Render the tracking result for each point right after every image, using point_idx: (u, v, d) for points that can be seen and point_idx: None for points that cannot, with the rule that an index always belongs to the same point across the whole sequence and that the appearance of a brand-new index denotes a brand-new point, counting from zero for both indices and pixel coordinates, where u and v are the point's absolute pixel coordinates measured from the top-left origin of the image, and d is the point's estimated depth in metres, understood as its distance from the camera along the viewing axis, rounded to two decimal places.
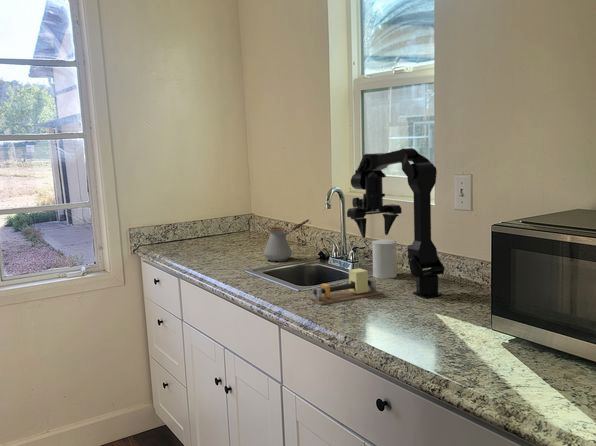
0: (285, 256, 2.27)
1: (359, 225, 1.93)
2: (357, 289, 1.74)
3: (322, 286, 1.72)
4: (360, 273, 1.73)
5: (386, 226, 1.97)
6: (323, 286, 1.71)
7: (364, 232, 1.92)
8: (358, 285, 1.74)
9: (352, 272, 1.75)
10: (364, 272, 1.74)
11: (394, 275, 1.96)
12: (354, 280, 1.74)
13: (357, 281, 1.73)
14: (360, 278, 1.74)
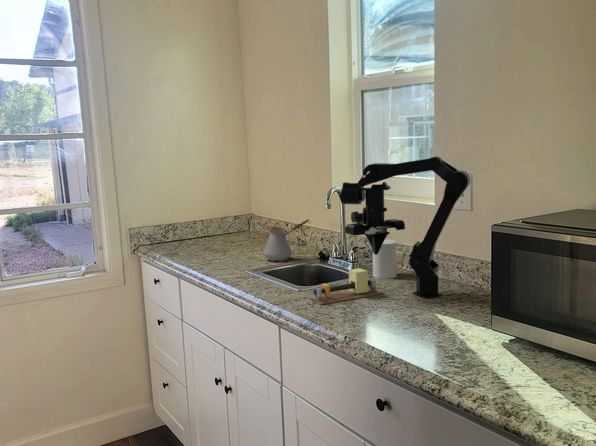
0: (285, 256, 2.27)
1: (370, 241, 1.77)
2: (357, 289, 1.74)
3: (322, 286, 1.72)
4: (360, 273, 1.73)
5: None
6: (323, 286, 1.71)
7: (376, 248, 1.76)
8: (358, 285, 1.74)
9: (352, 272, 1.75)
10: (364, 272, 1.74)
11: (394, 275, 1.96)
12: (354, 280, 1.74)
13: (357, 281, 1.73)
14: (360, 278, 1.74)
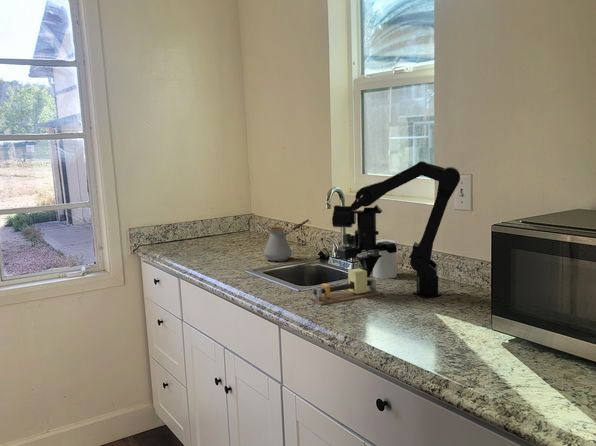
0: (285, 256, 2.27)
1: (362, 264, 1.77)
2: (356, 289, 1.73)
3: (322, 286, 1.72)
4: (359, 273, 1.73)
5: None
6: (323, 286, 1.71)
7: (368, 271, 1.76)
8: (357, 285, 1.74)
9: (351, 272, 1.75)
10: (363, 272, 1.74)
11: (394, 275, 1.96)
12: (353, 280, 1.74)
13: (356, 281, 1.73)
14: (359, 278, 1.74)
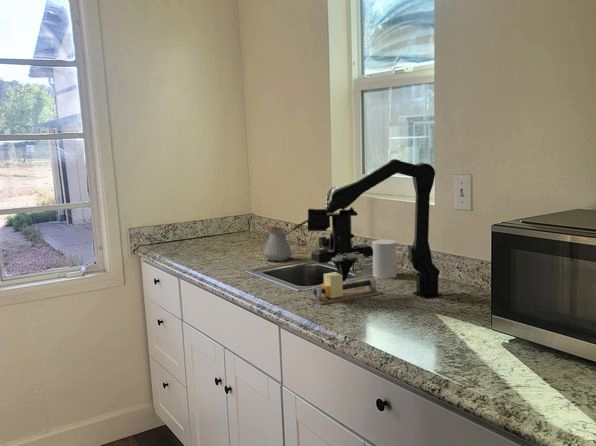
0: (285, 256, 2.27)
1: (338, 267, 1.73)
2: (331, 293, 1.70)
3: (322, 286, 1.72)
4: (334, 277, 1.70)
5: None
6: (323, 286, 1.71)
7: (343, 275, 1.72)
8: (332, 289, 1.70)
9: (327, 276, 1.71)
10: (339, 276, 1.70)
11: (394, 275, 1.96)
12: (328, 284, 1.70)
13: (331, 285, 1.69)
14: (335, 282, 1.70)
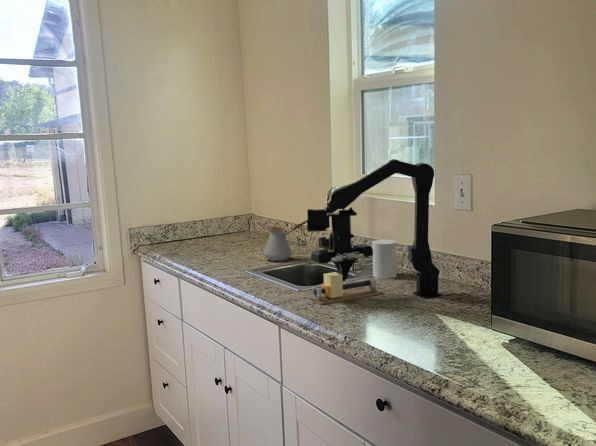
0: (285, 256, 2.27)
1: (338, 267, 1.73)
2: (331, 293, 1.70)
3: (322, 286, 1.72)
4: (334, 277, 1.70)
5: None
6: (323, 286, 1.71)
7: (343, 275, 1.72)
8: (332, 289, 1.70)
9: (327, 276, 1.71)
10: (339, 276, 1.70)
11: (394, 275, 1.96)
12: (328, 284, 1.70)
13: (331, 285, 1.69)
14: (335, 282, 1.70)
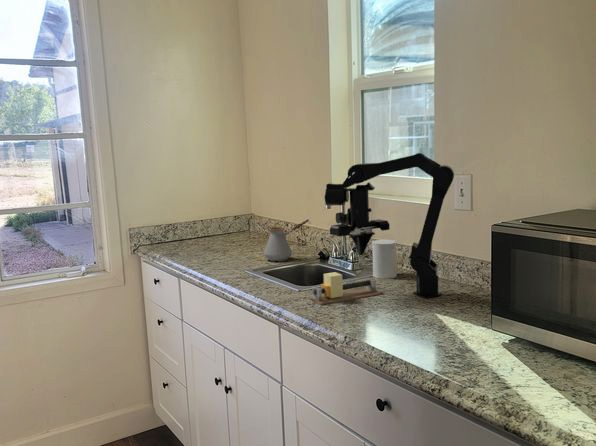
0: (285, 256, 2.27)
1: (355, 242, 1.76)
2: (331, 293, 1.70)
3: (322, 286, 1.72)
4: (334, 277, 1.70)
5: None
6: (323, 286, 1.71)
7: (361, 249, 1.76)
8: (332, 289, 1.70)
9: (327, 276, 1.71)
10: (339, 276, 1.70)
11: (394, 275, 1.96)
12: (328, 284, 1.70)
13: (331, 285, 1.69)
14: (335, 282, 1.70)
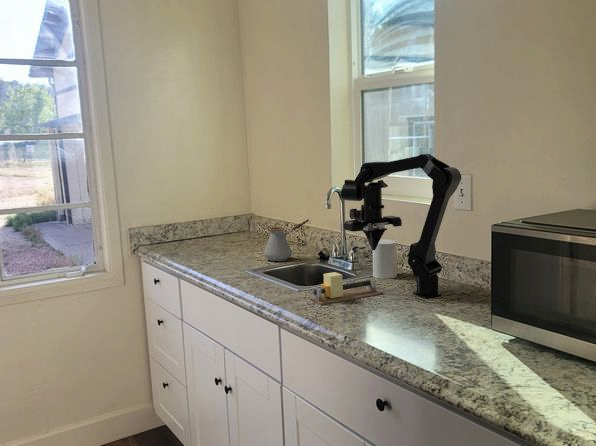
0: (285, 256, 2.27)
1: (368, 237, 1.82)
2: (331, 293, 1.70)
3: (322, 286, 1.72)
4: (334, 277, 1.70)
5: None
6: (323, 286, 1.71)
7: (373, 244, 1.82)
8: (332, 289, 1.70)
9: (327, 276, 1.71)
10: (339, 276, 1.70)
11: (394, 275, 1.96)
12: (328, 284, 1.70)
13: (331, 285, 1.69)
14: (335, 282, 1.70)
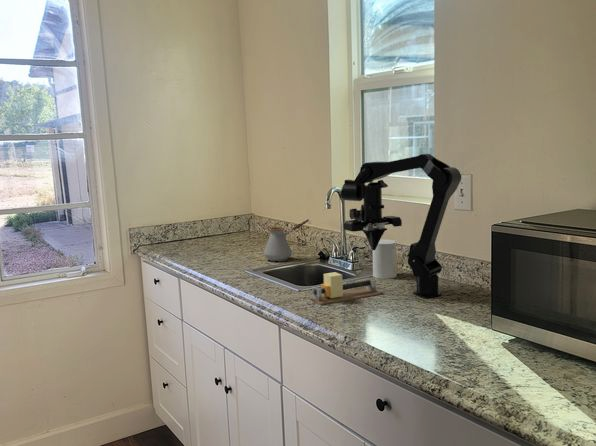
0: (285, 256, 2.27)
1: (368, 237, 1.82)
2: (331, 293, 1.70)
3: (322, 286, 1.72)
4: (334, 277, 1.70)
5: None
6: (323, 286, 1.71)
7: (373, 244, 1.82)
8: (332, 289, 1.70)
9: (327, 276, 1.71)
10: (339, 276, 1.70)
11: (394, 275, 1.96)
12: (328, 284, 1.70)
13: (331, 285, 1.69)
14: (335, 282, 1.70)
